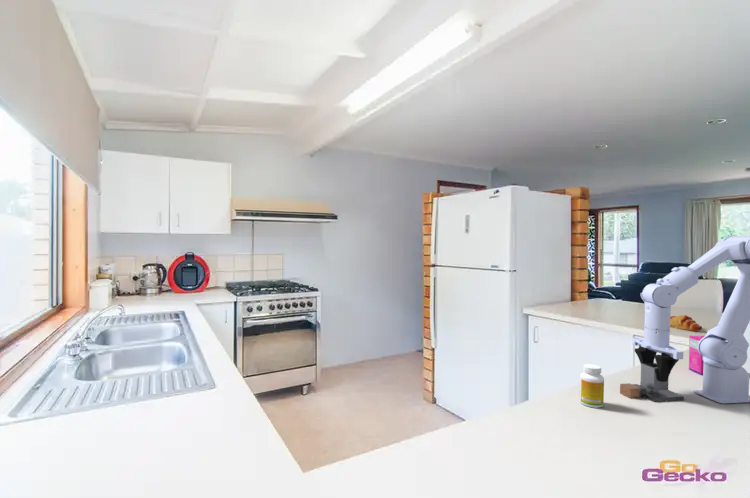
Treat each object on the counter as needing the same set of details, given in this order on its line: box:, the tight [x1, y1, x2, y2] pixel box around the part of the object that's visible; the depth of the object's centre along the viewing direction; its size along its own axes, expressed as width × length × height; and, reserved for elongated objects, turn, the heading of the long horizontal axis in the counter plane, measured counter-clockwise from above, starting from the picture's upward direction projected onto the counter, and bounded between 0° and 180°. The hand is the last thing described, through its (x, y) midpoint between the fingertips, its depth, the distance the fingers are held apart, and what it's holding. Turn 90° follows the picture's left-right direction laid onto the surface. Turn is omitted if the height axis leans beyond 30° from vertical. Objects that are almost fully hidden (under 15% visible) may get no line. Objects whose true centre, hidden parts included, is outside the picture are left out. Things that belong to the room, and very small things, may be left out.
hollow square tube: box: [639, 362, 670, 391], centre depth 110 cm, size 4×4×6 cm
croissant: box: [670, 314, 703, 332], centre depth 199 cm, size 21×10×8 cm, turn 5°
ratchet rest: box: [619, 383, 685, 403], centre depth 110 cm, size 14×9×4 cm, turn 99°
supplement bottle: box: [578, 363, 605, 409], centre depth 103 cm, size 5×5×10 cm
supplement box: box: [688, 335, 705, 376], centre depth 130 cm, size 6×6×12 cm
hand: (654, 378), depth 110 cm, fingers closed on hollow square tube, 4 cm apart
